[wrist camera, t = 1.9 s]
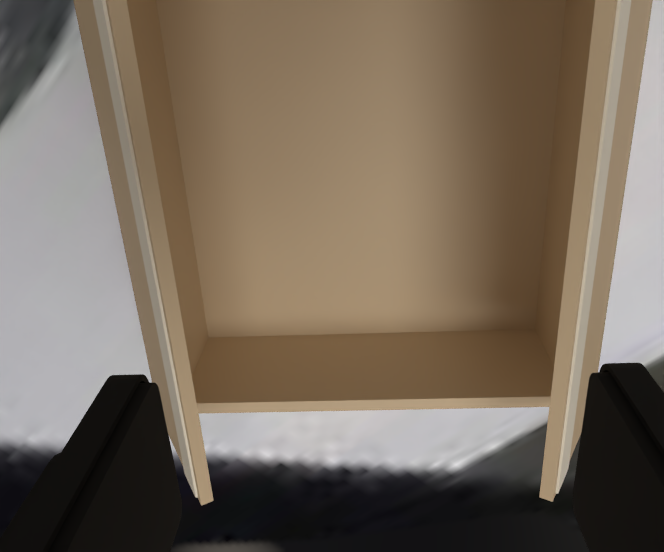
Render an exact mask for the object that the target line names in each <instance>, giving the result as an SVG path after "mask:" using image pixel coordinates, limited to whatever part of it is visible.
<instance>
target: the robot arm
mask: <svg viewBox="0 0 664 552" xmlns="http://www.w3.org/2000/svg"><path fill="white" fill-rule="evenodd" d="M573 508H574V513H575V516H576V519H577V522H578V524H579V527H580V529H581V532H582V534H583V537H584V539H585V542H586V544H587V547H588V549H589V551H590V552H664V393H663V391H662V390H661V388H660V387H659V386H658V384H657V383H656V382H655V380H654V379H653V378H652V376H651V375H650V374H649V372H648V371H647V369H646V368H645V367H644V366H643V365H642V364H640V363H612V364H604V365H602V367H601V369H600V373H592V374H591V375H590V377H589V382H588V389H587V396H586V403H585V411H584V418H583V425H582V432H581V439H580V446H579V453H578V460H577V468H576V475H575V482H574V489H573ZM181 512H182V501H181V495H180V490H179V485H178V480H177V475H176V470H175V465H174V460H173V455H172V450H171V445H170V441H169V436H168V431H167V426H166V421H165V416H164V411H163V406H162V401H161V396H160V391H159V387H158V385H157V384H156V383H149V382H148V379H147V377H146V376H145V375H112V376H110V377H109V378H108V379H107V380H106V382H105V384H104V385H103V387H102V388H101V390H100V392H99V393H98V395H97V396H96V398H95V400H94V401H93V403H92V404H91V406H90V407H89V409H88V411H87V412H86V414H85V415H84V417H83V419H82V420H81V422H80V423H79V425H78V427H77V428H76V430H75V431H74V433H73V435H72V436H71V438H70V439H69V441H68V443H67V444H66V446H65V447H64V449H63V451H62V452H61V453H59V454H57V455H55V456H54V457H53V458H52V459H51V461H50V462H49V463H48V465H47V466H46V468H45V469H44V471H43V472H42V474H41V476H40V477H39V479H38V480H37V482H36V483H35V485H34V486H33V488H32V490H31V491H30V493H29V494H28V496H27V497H26V499H25V501H24V502H23V504H22V505H21V507H20V508H19V510H18V511H17V513H16V515H15V516H14V518H13V519H12V521H11V522H10V524H9V526H8V527H7V529H6V530H5V532H4V533H3V535H2V537H1V538H0V552H170V550H171V547H172V544H173V541H174V538H175V535H176V532H177V529H178V526H179V523H180V519H181Z"/></svg>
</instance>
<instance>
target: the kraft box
mask: <svg viewBox="0 0 664 552" xmlns="http://www.w3.org/2000/svg"><path fill="white" fill-rule="evenodd" d="M127 6H128V12H129V18H130V23H131V29H132V35H133V41H134V46H135V52H136V58H137V64H138V69H139V75H140V81H141V87H142V92H143V98H144V104H145V110H146V116H147V121H148V127H149V133H150V139H151V144H152V150H153V156H154V162H155V167H156V173H157V179H158V185H159V190H160V196H161V202H162V208H163V213H164V219H165V225H166V231H167V236H168V242H169V248H170V254H171V259H172V265H173V271H174V277H175V282H176V288H177V294H178V300H179V305H180V311H181V317H182V323H183V328H184V334H185V340H186V346H187V351H188V357H189V363H190V369H191V374H192V380H193V386H194V392H195V397H196V403H197V409H198V413H244V412H297V411H350V410H403V409H456V408H509V407H550V399H551V390H552V381H553V372H554V363H555V354H556V345H557V337H558V328H559V319H560V310H561V301H562V292H563V283H564V274H565V266H566V257H567V248H568V239H569V230H570V221H571V212H572V203H573V195H574V186H575V177H576V168H577V159H578V150H579V141H580V132H581V124H582V115H583V106H584V97H585V88H586V79H587V70H588V61H589V53H590V44H591V35H592V26H593V17H594V8H595V0H127Z"/></svg>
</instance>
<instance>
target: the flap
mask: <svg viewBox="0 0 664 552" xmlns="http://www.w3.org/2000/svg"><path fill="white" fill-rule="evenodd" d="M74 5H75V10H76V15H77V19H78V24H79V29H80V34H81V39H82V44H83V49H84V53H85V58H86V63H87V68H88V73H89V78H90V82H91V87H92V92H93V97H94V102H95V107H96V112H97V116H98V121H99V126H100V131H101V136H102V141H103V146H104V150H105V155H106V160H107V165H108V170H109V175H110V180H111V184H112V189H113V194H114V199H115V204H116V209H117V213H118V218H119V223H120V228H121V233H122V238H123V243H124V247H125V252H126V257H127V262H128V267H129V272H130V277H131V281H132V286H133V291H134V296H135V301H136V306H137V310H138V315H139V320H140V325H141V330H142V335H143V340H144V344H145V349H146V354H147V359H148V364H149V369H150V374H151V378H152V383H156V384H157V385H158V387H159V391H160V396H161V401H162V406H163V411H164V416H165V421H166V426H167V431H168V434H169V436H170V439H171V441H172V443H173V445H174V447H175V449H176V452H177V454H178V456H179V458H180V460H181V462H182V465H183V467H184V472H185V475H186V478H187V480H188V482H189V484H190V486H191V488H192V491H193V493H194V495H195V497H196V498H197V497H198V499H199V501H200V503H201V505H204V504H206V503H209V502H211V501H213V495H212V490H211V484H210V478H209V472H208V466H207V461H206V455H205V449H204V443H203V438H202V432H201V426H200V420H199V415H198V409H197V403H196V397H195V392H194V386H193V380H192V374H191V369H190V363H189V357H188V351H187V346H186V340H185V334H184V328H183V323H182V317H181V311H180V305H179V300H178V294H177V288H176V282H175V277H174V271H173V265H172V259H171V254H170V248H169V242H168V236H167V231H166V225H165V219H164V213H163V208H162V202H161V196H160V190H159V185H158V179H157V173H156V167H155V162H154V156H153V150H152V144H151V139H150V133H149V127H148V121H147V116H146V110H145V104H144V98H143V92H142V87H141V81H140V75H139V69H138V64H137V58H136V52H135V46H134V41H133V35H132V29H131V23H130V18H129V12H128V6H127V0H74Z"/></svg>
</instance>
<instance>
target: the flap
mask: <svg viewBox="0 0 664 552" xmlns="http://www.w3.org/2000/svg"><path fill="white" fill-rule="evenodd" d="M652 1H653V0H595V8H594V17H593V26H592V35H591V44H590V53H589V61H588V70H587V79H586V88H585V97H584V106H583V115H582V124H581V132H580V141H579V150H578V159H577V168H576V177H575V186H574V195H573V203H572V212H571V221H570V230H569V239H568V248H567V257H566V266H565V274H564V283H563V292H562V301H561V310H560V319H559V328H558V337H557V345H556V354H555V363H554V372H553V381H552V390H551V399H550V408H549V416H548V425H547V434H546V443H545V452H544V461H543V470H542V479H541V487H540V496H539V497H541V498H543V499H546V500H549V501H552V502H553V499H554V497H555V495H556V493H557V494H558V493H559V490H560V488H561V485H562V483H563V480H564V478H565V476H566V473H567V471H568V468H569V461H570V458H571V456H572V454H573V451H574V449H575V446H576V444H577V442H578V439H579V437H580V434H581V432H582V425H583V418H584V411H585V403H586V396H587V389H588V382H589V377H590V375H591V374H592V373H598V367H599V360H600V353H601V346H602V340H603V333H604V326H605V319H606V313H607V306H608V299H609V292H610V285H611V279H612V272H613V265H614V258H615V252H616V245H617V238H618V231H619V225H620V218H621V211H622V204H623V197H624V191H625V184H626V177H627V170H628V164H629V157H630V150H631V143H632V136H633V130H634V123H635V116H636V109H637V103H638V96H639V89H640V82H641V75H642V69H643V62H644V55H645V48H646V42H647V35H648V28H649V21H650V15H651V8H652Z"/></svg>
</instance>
